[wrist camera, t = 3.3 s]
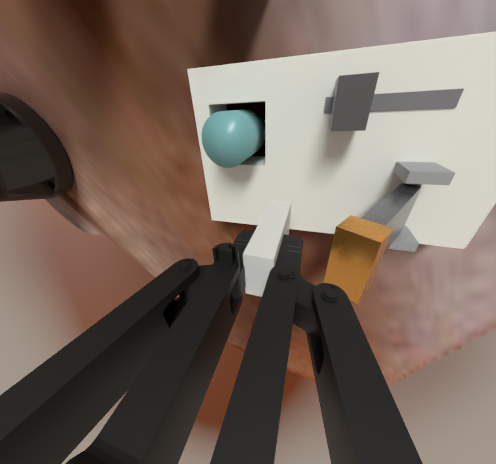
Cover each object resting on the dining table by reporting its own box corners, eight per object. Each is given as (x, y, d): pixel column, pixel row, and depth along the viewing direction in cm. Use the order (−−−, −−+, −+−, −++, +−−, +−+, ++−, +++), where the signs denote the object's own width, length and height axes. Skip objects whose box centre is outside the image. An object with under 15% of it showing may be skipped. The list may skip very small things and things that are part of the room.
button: (227, 154, 21) (205, 167, 17) (223, 110, 19) (197, 112, 15) (264, 155, 20) (250, 168, 16) (264, 108, 18) (248, 109, 14)
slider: (328, 126, 15) (330, 131, 13) (335, 80, 14) (339, 75, 11) (357, 126, 14) (365, 130, 12) (368, 77, 13) (379, 72, 11)
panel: (225, 206, 27) (200, 232, 21) (209, 74, 19) (165, 63, 14) (441, 225, 20) (486, 271, 15) (545, 38, 13) (714, -11, 7)
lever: (384, 220, 18) (323, 284, 12) (400, 176, 15) (336, 226, 10) (411, 228, 16) (358, 304, 10) (433, 181, 14) (381, 242, 8)
